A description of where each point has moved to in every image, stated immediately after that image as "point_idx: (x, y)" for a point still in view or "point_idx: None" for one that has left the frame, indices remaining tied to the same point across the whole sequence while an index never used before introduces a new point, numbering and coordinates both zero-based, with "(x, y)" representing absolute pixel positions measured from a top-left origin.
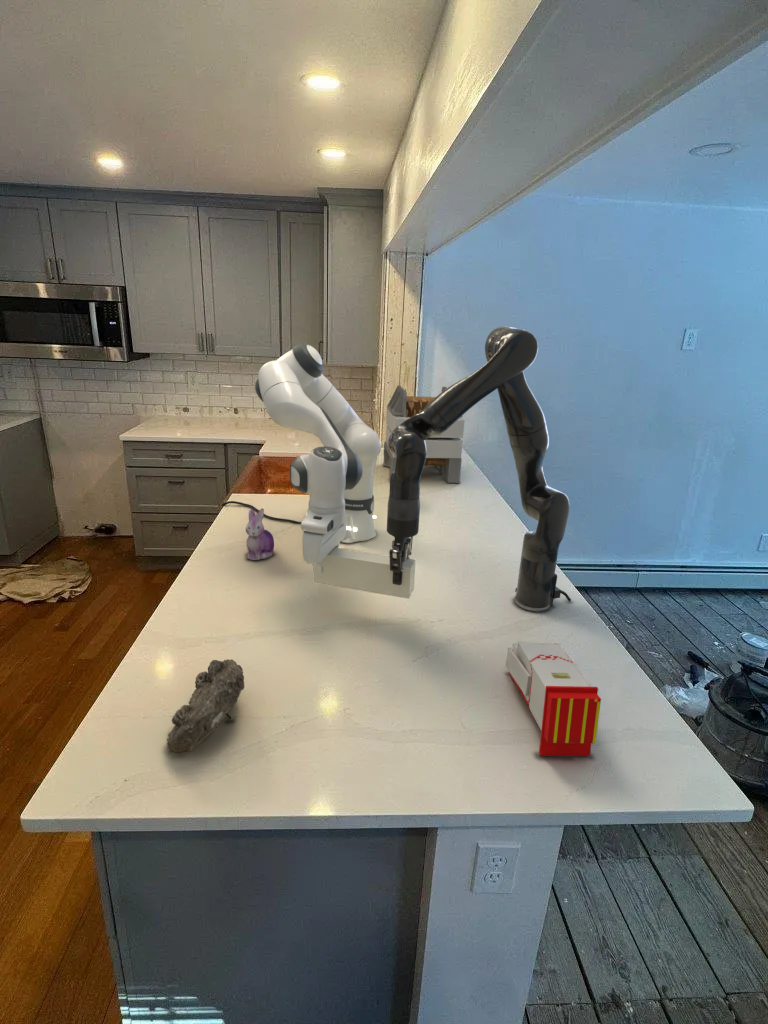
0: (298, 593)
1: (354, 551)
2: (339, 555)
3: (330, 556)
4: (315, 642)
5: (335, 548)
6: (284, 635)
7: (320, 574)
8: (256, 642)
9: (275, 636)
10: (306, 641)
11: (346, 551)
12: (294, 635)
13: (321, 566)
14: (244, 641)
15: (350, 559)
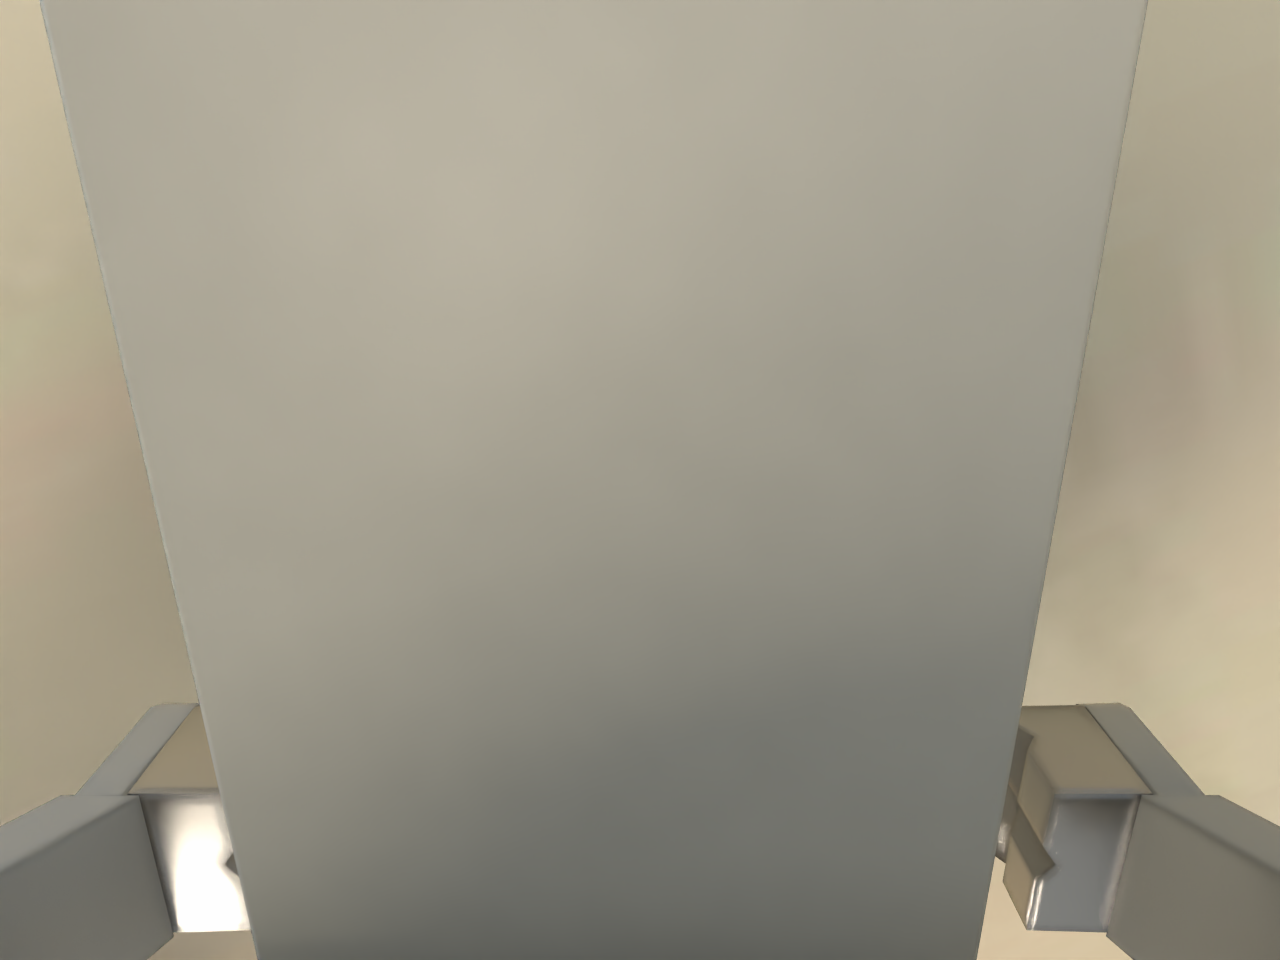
0: None
1: (199, 155)
2: (911, 642)
3: (980, 877)
4: (1217, 294)
5: (333, 955)
6: (1139, 591)
7: (1120, 712)
8: (1275, 734)
9: (1166, 647)
10: (1210, 380)
11: (397, 519)
12: (1126, 516)
13: (1247, 837)
14: (1270, 809)
15: (1108, 49)
